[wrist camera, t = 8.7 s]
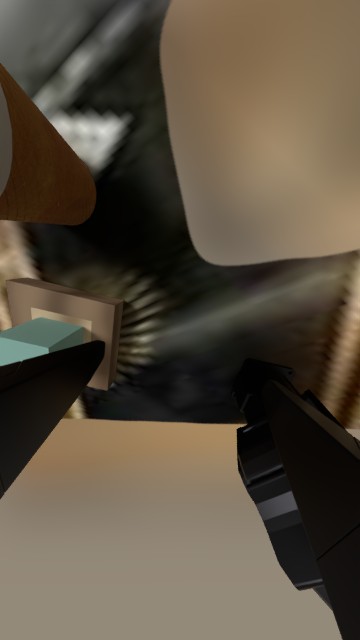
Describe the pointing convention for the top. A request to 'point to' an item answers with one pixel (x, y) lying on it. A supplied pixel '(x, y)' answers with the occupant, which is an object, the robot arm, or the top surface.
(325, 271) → the top surface
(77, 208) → the disposable coffee cup
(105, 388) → the walnut base
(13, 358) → the teal cube
